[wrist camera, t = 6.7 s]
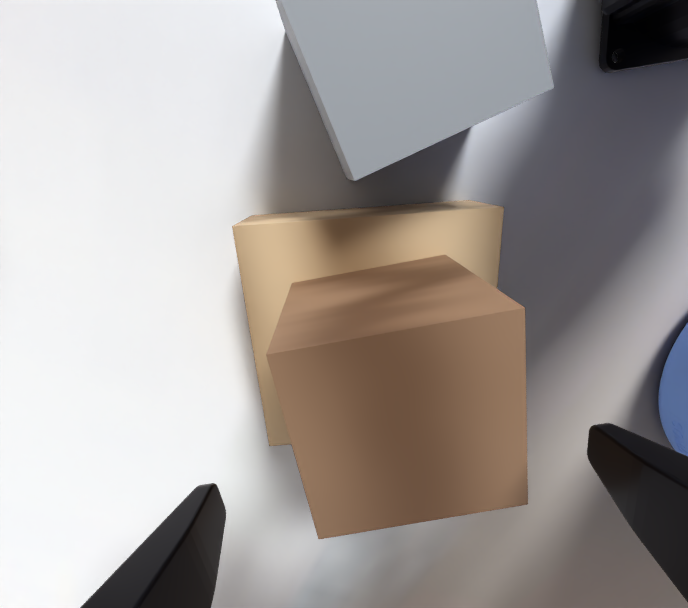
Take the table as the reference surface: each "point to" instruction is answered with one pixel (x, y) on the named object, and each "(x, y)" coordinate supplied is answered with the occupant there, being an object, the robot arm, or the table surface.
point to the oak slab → (349, 260)
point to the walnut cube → (403, 394)
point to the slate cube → (413, 69)
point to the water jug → (676, 394)
